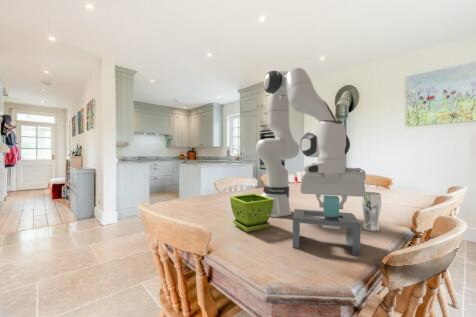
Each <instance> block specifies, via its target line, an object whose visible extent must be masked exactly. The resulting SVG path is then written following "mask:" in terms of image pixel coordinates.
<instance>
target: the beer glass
mask: <svg viewBox="0 0 476 317" xmlns="http://www.w3.org/2000/svg"><path fill="white" fill-rule="evenodd" d="M381 194H382V193H381V192H376V191H375V192H374V191H365V195H364V196H363V197H361V209H362V210H361V211H362V216H363V224H362V230H364V231H368V232H375V233H376V232H377V233H378V232H380V224H379V223H380V222H379V219H380V214H381V212H382V211H381V210H382V195H381Z"/></svg>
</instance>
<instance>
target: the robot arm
mask: <svg viewBox="0 0 476 317" xmlns="http://www.w3.org/2000/svg"><path fill="white" fill-rule="evenodd" d="M263 89H264V91H265V92H266V93H267V94H270V95H269V98H268V102H267V103H268V104H267V128H268V129H269V131H271V132H272V133H273V135H274V138H272V137H271V138H270V137H269V138H263V139H260V140H258V141H257V143H256V145H255V154H256V156H257V157H258V158H259V159H260V160H261V161H262V163H263V164H264V167H265V170H266V171H265V172H266V184H265V185H263V190H262V191H263V192H262V193H261V194H260V195H262V196H265V197H268V198H271V199H273V208H272V212H271V215H270V217H269V218H280V217H286V216H289V215H292V210H291V206H290V198H289V197H290V186H289V171H288V169H287V168H285V167H284V166H283V164H282V160H290V159H294V158H296V157H297V156H298V155H299V153H300V151H301V152H302V154H303V155H304V156H305V157H307V158H308V157H309V158H317V162H313V163H311V164H307V165H305V166H304V168H303V169H304V173H303V174H302V176H301V180H300V186H299V187H300V189H299V191H300V193H301V194H303V195H315V198H316V200H317V201H318V205H319V206H318V207H319V209H323V208H324V202H323V201H321V199H320V198H321V195H322V196H323V195H329V196H338V197H340V196H341V198H342V199H341V201H340V202H339V210H344V204H345V203H346V202H347V201H348V197H361V198H362V197H363V196H364V195H365V192H366V184H365V181H366V179H367V178H366V176H367V173H366V171H365V170H364V169H361V167H347V161H346V160H347V158H346V155H347V154H348V152H349V150H350V148H351V142H350V138H349V137H348V135H347V134H346V127H345V124H344V122H343V121H341V120H337V119H336V116H335V115H334V113H333V112H332V109H331V108H330V106H329V105H328V104H327V102H326V101H325V100H323V98H322V97H321V96H320V95H319V94H318V92H317V91H316V90H315V87H314V84H313V82H312V80H311V78H310V76H309V75H308V73H307V71H306V70H305V69H303V68H301V67H294V68H292V69H291V70H287V71H286V70H285V71H284V70H279V71H278V70H270V71H268V72H267V73H266V74H265V76H264V79H263ZM290 106H291V108H292V109H293V110H295V111H296V112H299V113H303V114H305V115H308V116H310V117H313V118H315V119H316V120H318V125H317V126H316V127H315V128H314V129H313V130H311V131H309V132H306V133H304V134H303V136H302V137H301V139H300V145H299V143H298V142H297V141H296V140H295V139H294V137H293V134H292V132H291V127H290ZM259 211H260V210H259Z"/></svg>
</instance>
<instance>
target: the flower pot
mask: <svg viewBox="0 0 476 317" xmlns="http://www.w3.org/2000/svg"><path fill="white" fill-rule="evenodd" d="M229 201H230V207H231V212H232V214H233V216H234V219H232V223H234V225H236V227H238V228H240V229H242V230H243V231H245V232H246V233H249V232H253V231H259V230H265V229H266V230H267V228H269V226H271V223H270V222H269V219H270V218H271V217H270V215H271V212H272V208H273V199H271V198H268V197H265V196H262V195H261V194H260V193H259V194H257V193H249V194H247V193H246V194H239V195H238V194H237V195H232V196H230V197H229ZM259 210H260V211H259Z"/></svg>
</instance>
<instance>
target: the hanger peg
mask: <svg viewBox="0 0 476 317" xmlns="http://www.w3.org/2000/svg"><path fill="white" fill-rule="evenodd" d="M322 197H323V198H322V199H323V201H322V202H324V208H322V209H323V210H322V211H323V213H324V216H327V217H334V216H337V217H339V212H340V209H339V203H340V198H339V197H340V196H338V195H322ZM322 226H323V229H336V230H340V229H341V227H340V226H329V225H322Z"/></svg>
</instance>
